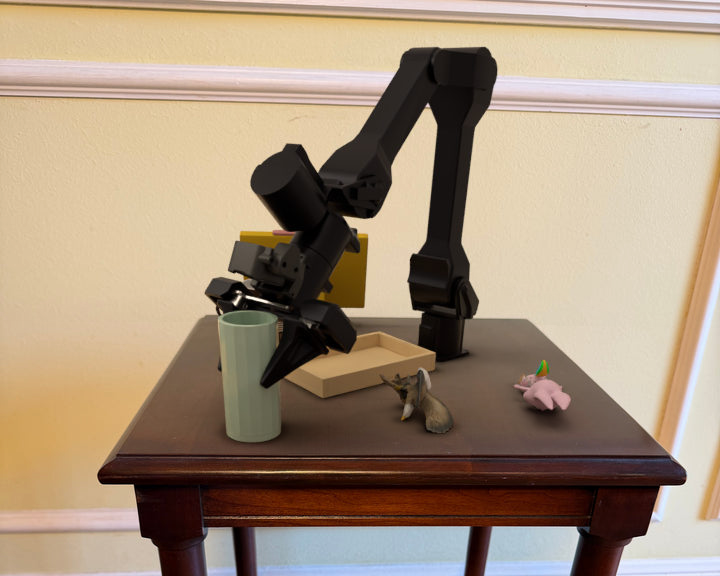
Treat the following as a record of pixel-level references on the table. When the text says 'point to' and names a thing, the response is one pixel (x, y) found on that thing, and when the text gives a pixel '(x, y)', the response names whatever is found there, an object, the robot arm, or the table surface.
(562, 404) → the rabbit figure
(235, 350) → the tumbler
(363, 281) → the toy computer monitor
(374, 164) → the robot arm
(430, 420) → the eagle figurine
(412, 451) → the table surface
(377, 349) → the tray
